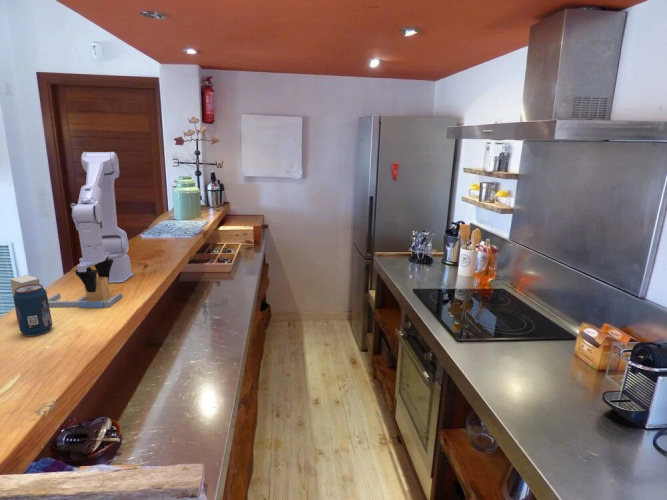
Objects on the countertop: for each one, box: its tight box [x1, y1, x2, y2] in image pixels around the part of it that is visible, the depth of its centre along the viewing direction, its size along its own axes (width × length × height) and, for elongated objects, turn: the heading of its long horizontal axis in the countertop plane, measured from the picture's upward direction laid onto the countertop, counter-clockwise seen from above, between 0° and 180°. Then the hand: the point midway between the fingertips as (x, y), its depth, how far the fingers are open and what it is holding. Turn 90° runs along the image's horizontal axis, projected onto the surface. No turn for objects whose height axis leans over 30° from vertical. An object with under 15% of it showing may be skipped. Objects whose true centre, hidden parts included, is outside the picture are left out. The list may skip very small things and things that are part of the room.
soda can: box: [12, 284, 53, 337], centre depth 107 cm, size 7×7×12 cm
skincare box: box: [9, 274, 41, 321], centre depth 113 cm, size 6×4×12 cm
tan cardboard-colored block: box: [84, 276, 111, 301], centre depth 127 cm, size 4×5×7 cm
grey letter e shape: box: [48, 292, 123, 309], centre depth 127 cm, size 8×20×2 cm, turn 92°
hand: (98, 287), depth 127 cm, fingers open, 7 cm apart
